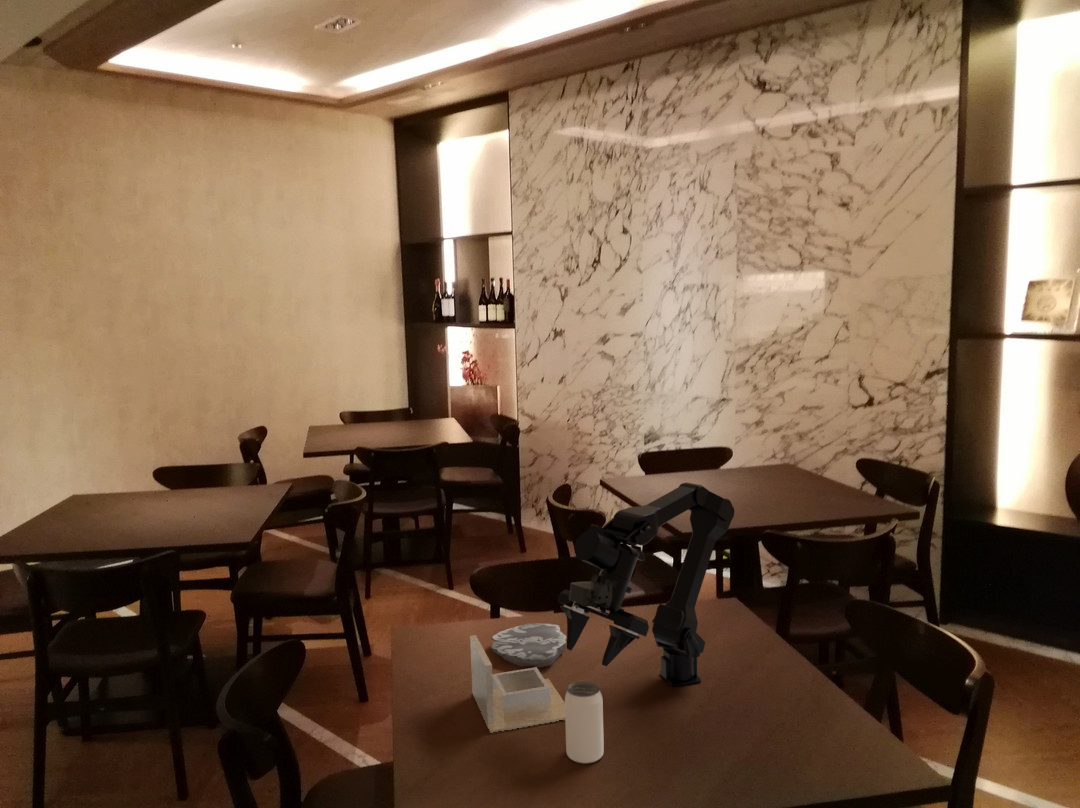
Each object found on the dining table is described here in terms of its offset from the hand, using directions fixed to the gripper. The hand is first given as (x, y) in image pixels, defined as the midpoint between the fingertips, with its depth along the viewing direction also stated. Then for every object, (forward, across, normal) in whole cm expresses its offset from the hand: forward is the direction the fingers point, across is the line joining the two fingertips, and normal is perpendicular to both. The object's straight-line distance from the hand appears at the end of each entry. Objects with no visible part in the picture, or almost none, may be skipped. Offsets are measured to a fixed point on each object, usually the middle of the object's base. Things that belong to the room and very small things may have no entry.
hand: (586, 657), depth 146 cm
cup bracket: (+14, -14, +3) cm, 20 cm away
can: (+15, +7, +1) cm, 16 cm away
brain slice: (+6, -32, +18) cm, 37 cm away
